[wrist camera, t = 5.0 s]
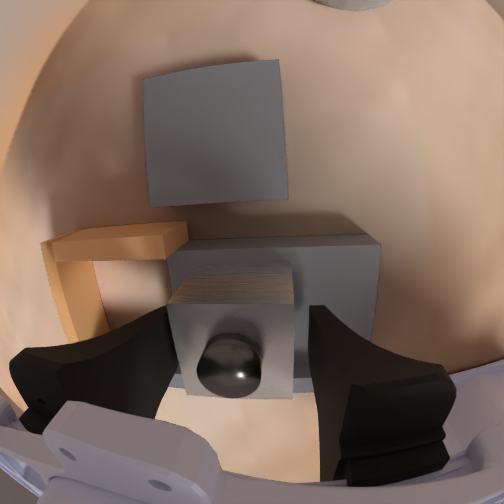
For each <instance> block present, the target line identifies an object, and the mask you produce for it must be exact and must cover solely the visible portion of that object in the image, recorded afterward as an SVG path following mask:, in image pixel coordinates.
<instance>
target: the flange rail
mask: <svg viewBox="0 0 504 504" xmlns="http://www.w3.org/2000/svg"><path fill="white" fill-rule="evenodd" d="M40 245H41V250H42V255H43V259H44V264H45V268H46V272H47V276H48V280H49V284H50V288H51V291H52V295H53V298H54V302H55V305H56V308H57V311H58V315H59V318H60V321H61V324H62V327H63V329H64V332H65V335H66V338H67V341H68V343H69V344H71V343H75V342H79V341H83V340H87V339H91V338H94V337H97V336H100V335H103V334H106V333H108V332H110V329H109V326H108V323H107V319H106V316H105V312H104V308H103V305H102V301H101V297H100V293H99V289H98V285H97V280H96V276H95V271H94V267H93V262H92V261H108V260H152V259H167V265H168V272H169V278H170V284H171V290H172V296H173V294H174V293H175V292H176V291H177V289H178V288H179V287H180V286H181V285H182V283H183V282H184V281H185V280H186V278H187V277H188V276H189V275H190V274H191V272H192V271H193V270H194V269H195V268H196V266H197V265H198V264H206V263H249V262H286V261H291V270H292V281H293V294H294V370H293V393H304V392H314V388H313V383H312V378H311V373H310V368H309V358H308V329H309V305H325V306H326V307H327V308H328V309H329V310H330V311H331V312H332V313H333V314H334V315H335V316H336V317H337V318H338V319H339V320H341V321H342V322H343V323H344V324H345V325H346V326H348V327H349V328H350V329H352V330H353V331H354V332H356V333H357V334H358V335H360V336H361V337H363V338H364V339H366V340H368V341H371V335H372V329H373V322H374V314H375V307H376V298H377V289H378V279H379V267H380V254H381V244H380V243H378V242H377V241H376V240H375V239H374V238H372V237H371V236H370V235H369V234H358V235H317V236H283V237H253V238H226V239H202V240H189V236H188V227H187V221H174V222H160V223H146V224H133V225H121V226H110V227H99V228H88V229H78V230H73V231H70V232H68V233H65V234H63V235H60V236H58V237H55V238H52V239H50V240H48V241H45V242H43V243H40ZM168 387H175V388H184V389H185V385H184V381H183V378H182V374H181V370H180V366H178V368H177V370H176V372H175V374H174V376H173V378H172V380H171V382H170V384H169V386H168Z"/></svg>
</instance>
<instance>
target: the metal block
mask: <svg viewBox="0 0 504 504" xmlns="http://www.w3.org/2000/svg"><path fill="white" fill-rule="evenodd" d="M166 306H167V311H168V316H169V321H170V326H171V330H172V335H173V340H174V344H175V349H176V353H177V357H178V361H179V366H180V370H181V374H182V378H183V381H184V385H185V389H186V393H187V395H196V396H207V397H221V398H240V399H293V370H294V294H293V281H292V270H291V261H286V262H249V263H206V264H198V265H197V266H196V268H195V269H194V270H193V271H192V272H191V274H190V275H189V276H188V277H187V278H186V280H185V281H184V282H183V283H182V285H181V286H180V287H179V288H178V289H177V291H176V292H175V293H174V294H173V296H172V297H171V298H170V299H169V300H168V302H167V303H166Z"/></svg>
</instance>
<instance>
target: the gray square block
mask: <svg viewBox="0 0 504 504" xmlns="http://www.w3.org/2000/svg"><path fill="white" fill-rule="evenodd" d="M143 115H144V140H145V157H146V171H147V183H148V194H149V203H150V208H157V207H168V206H180V205H193V204H207V203H222V202H239V201H259V200H285V199H288V180H287V161H286V144H285V128H284V114H283V100H282V88H281V76H280V65H279V60H261V61H248V62H238V63H229V64H221V65H214V66H207V67H201V68H195V69H189V70H184V71H179V72H174V73H169V74H164V75H160V76H156V77H152V78H148V79H144V80H143Z"/></svg>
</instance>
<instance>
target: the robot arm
mask: <svg viewBox="0 0 504 504" xmlns="http://www.w3.org/2000/svg"><path fill="white" fill-rule="evenodd" d="M308 358H309V368H310V373H311V378H312V383H313V388H314V393H315V399H316V404H317V410H318V422H319V442H320V482H312V483H288V482H281V481H274V480H268V479H262V478H257V477H252V476H247V475H242V474H237V473H233V472H229V471H224V470H222V468H221V466H220V463H219V460H218V456H217V454H216V452H215V451H214V450H213V448H212V447H211V446H210V444H209V443H208V442H207V441H206V440H205V439H204V438H203V437H201V436H199V435H197V434H196V433H194V432H192V431H191V430H189V429H188V428H186V427H182V426H179V425H176V424H172V423H169V422H166V421H161V420H156V419H155V416H156V413H157V410H158V407H159V405H160V402H161V400H162V398H163V396H164V394H165V392H166V390H167V388H168V386H169V384H170V382H171V380H172V378H173V376H174V374H175V372H176V370H177V368H178V366H179V361H178V357H177V353H176V349H175V344H174V340H173V335H172V330H171V326H170V321H169V316H168V311H167V306H163V307H160V308H158V309H156V310H154V311H152V312H150V313H148V314H146V315H144V316H142V317H140V318H138V319H136V320H134V321H132V322H130V323H128V324H126V325H124V326H122V327H120V328H117V329H115V330H113V331H111V332H108V333H106V334H103V335H100V336H97V337H94V338H91V339H87V340H83V341H79V342H75V343H71V344H65V345H59V346H51V347H34V348H25V349H23V350H22V351H21V352H20V353H19V354H17V355H16V356H15V357H14V358H13V359H12V360H11V361H10V363H9V370H10V374H11V377H12V379H13V382H14V384H15V385H16V387H17V389H18V391H19V393H20V394H21V396H22V398H23V399H24V401H25V403H26V404H27V406H28V407H29V408H28V409H27V410H26V411H25V412H24V413H23V414H22V416H21V417H19V416H17V415H16V413H15V411H14V409H13V408H12V407H11V405H10V404H9V402H8V401H7V400H5V399H4V398H2V397H1V396H0V468H1V469H2V470H4V471H5V472H6V473H8V474H9V475H10V476H11V477H12V478H14V479H15V480H16V481H18V482H19V483H20V484H22V485H23V486H24V487H26V488H27V489H28V490H30V491H31V492H33V493H34V494H35V495H37V496H38V497H40V498H39V500H38V502H37V503H36V504H504V359H503V360H500V361H497V362H493V363H490V364H487V365H484V366H480V367H477V368H473V369H470V370H466V371H462V372H458V373H454V374H450V375H448V373H447V372H446V370H445V369H444V367H443V366H442V365H440V364H434V363H428V362H422V361H418V360H414V359H410V358H407V357H403V356H401V355H398V354H395V353H392V352H390V351H388V350H385V349H383V348H381V347H379V346H377V345H375V344H373V343H371V342H370V341H368V340H366V339H364V338H363V337H361V336H360V335H358V334H357V333H356V332H354V331H353V330H352V329H350V328H349V327H348V326H346V325H345V324H344V323H343V322H342V321H341V320H339V319H338V318H337V317H336V316H335V315H334V314H333V313H332V312H331V311H330V310H329V309H328V308H327V307H326V306H325V305H309V329H308Z"/></svg>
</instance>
